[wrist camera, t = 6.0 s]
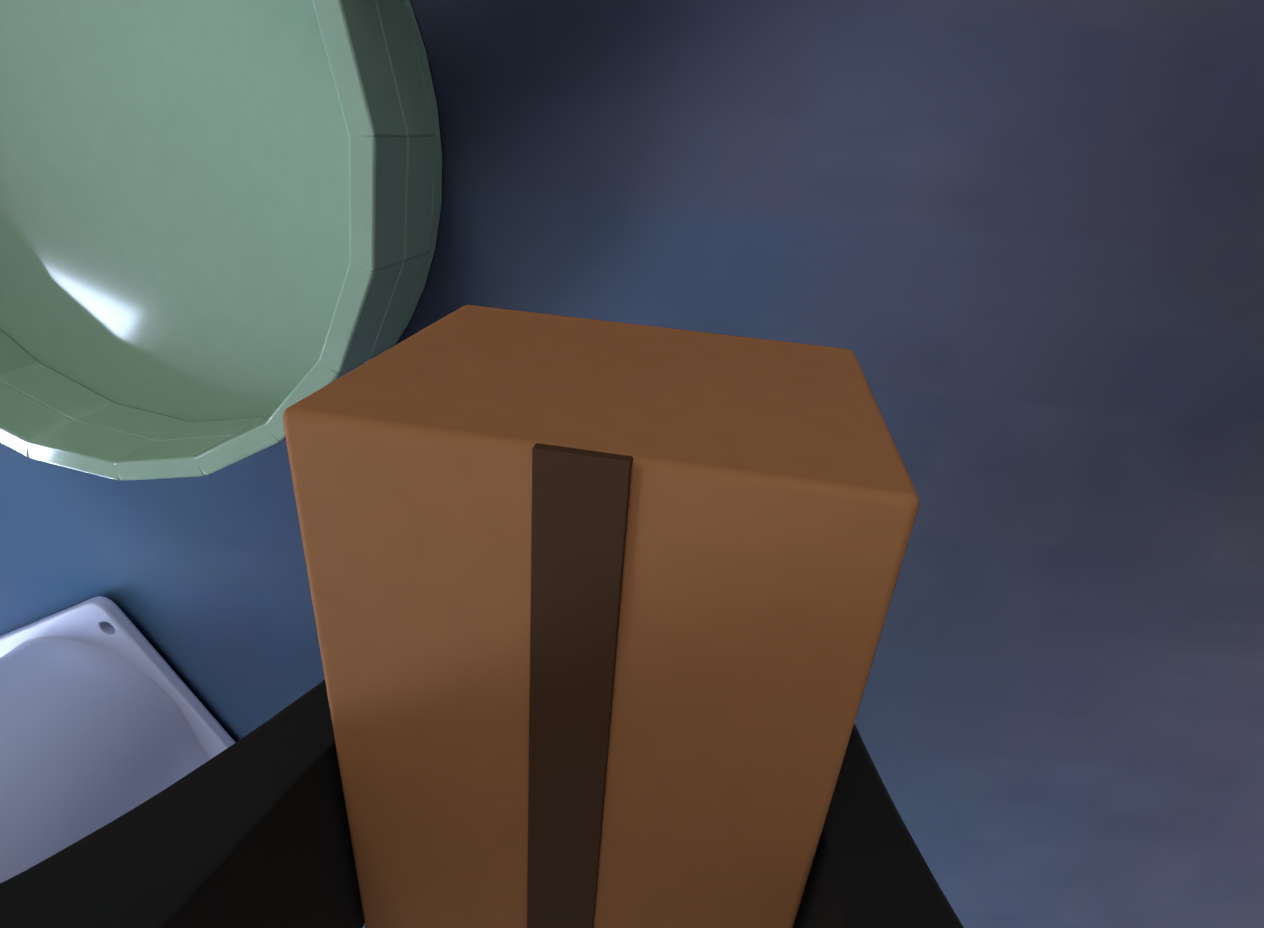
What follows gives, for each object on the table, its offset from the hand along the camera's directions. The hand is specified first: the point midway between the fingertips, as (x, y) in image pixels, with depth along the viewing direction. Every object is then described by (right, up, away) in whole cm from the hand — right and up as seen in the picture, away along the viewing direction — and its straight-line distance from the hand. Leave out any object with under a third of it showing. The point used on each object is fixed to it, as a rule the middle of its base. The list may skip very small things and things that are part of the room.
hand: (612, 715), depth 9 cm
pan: (-11, +11, +6) cm, 17 cm away
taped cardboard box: (0, +1, +1) cm, 1 cm away
